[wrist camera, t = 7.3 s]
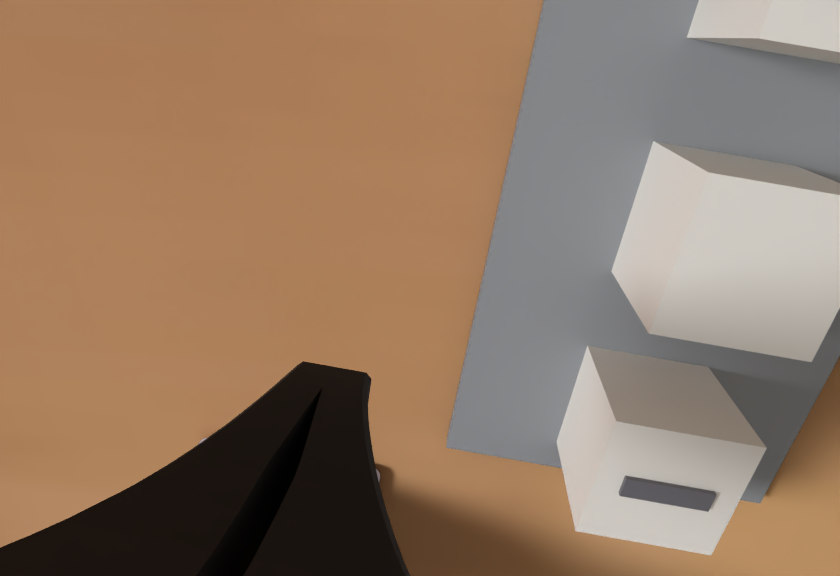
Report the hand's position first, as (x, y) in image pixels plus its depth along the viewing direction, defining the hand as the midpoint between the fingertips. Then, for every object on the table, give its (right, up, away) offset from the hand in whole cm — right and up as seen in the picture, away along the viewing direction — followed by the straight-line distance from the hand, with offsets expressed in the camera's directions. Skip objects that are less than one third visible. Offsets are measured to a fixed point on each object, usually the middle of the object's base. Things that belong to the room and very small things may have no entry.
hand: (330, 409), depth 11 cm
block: (+10, -2, +11) cm, 15 cm away
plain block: (+11, +5, +8) cm, 14 cm away
